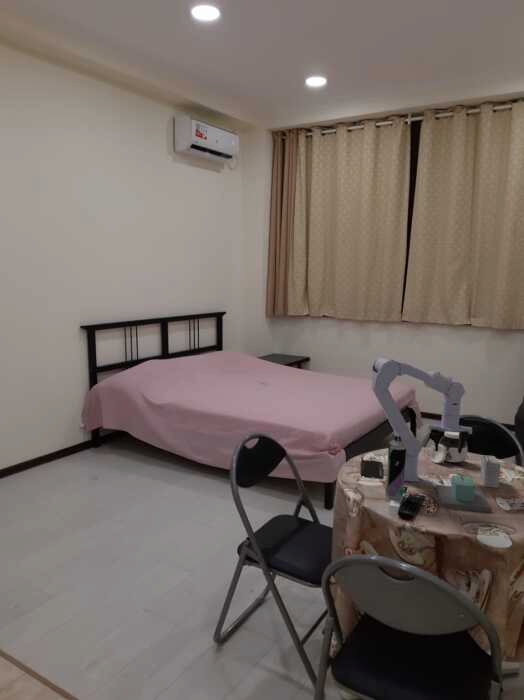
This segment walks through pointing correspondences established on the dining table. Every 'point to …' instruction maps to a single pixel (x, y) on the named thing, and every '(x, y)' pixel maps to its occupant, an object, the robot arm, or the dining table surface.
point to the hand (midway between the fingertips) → (447, 451)
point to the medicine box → (490, 471)
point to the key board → (450, 502)
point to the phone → (371, 469)
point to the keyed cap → (462, 488)
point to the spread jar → (449, 450)
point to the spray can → (395, 468)
